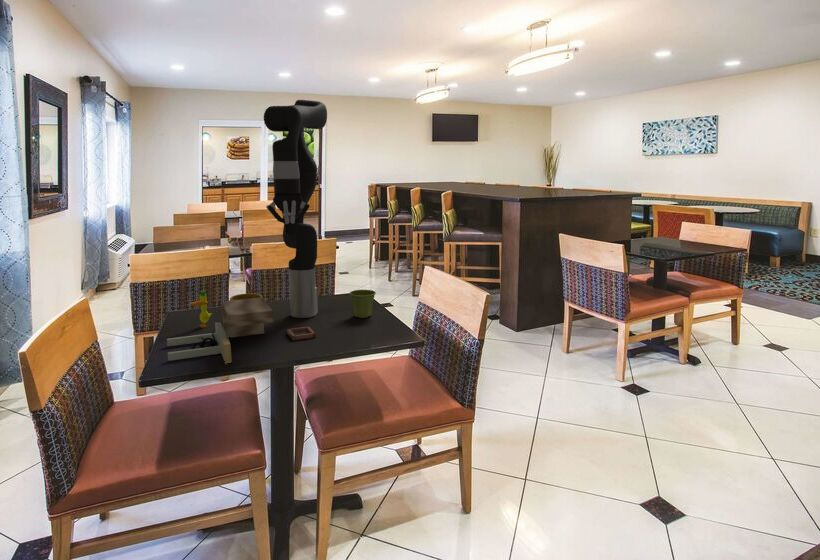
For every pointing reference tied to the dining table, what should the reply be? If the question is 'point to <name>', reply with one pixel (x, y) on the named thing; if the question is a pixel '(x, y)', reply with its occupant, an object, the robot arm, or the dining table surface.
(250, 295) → the plant pot
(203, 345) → the creature
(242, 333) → the tunnel
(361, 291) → the plant pot
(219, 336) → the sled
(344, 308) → the dining table surface
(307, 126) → the robot arm
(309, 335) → the brown tray
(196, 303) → the toy figure
